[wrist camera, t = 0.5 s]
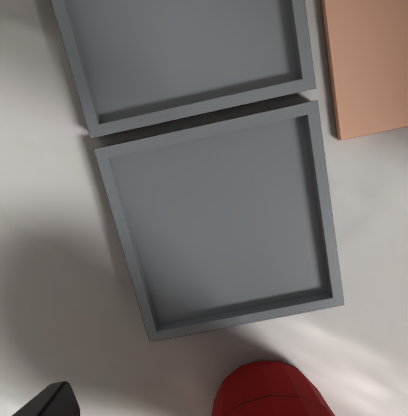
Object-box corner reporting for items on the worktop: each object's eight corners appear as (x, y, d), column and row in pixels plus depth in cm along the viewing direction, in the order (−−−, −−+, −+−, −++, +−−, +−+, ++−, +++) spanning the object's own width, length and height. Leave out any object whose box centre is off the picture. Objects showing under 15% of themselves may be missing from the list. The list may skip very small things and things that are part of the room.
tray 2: (311, 100, 17) (317, 100, 16) (337, 295, 19) (344, 305, 18) (100, 147, 17) (94, 149, 16) (152, 331, 20) (149, 342, 19)
